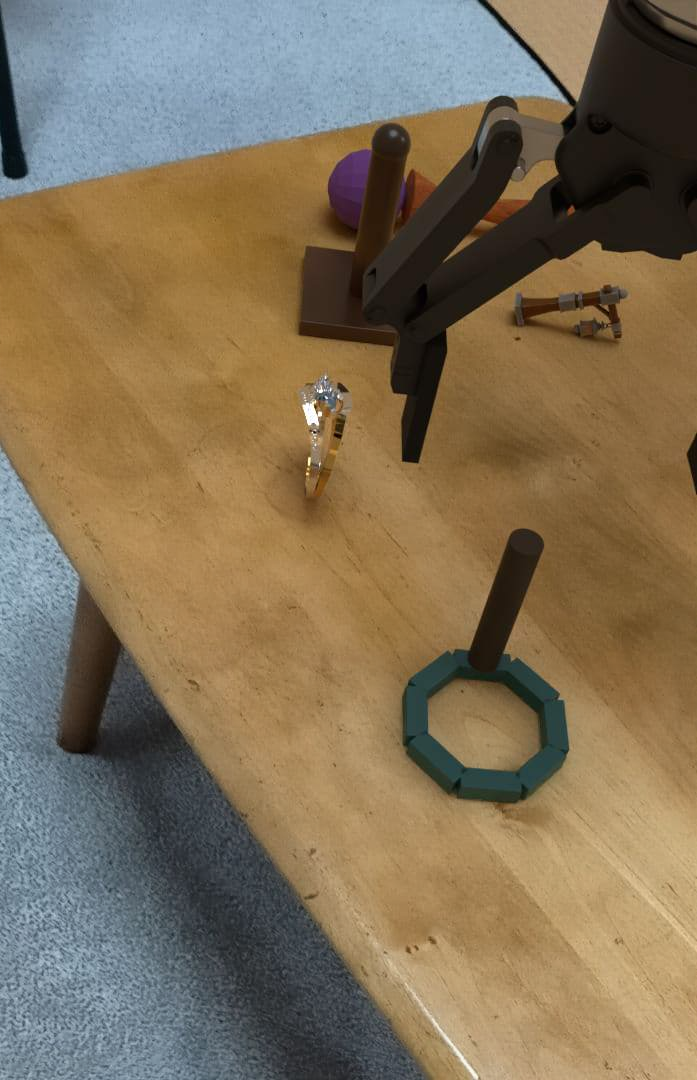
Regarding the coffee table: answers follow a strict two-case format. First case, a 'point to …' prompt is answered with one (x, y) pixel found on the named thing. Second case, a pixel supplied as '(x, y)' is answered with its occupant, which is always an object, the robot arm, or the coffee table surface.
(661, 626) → the coffee table surface
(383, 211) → the stand
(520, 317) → the wooden post with brackets
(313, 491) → the ring
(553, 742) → the ring
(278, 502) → the coffee table surface
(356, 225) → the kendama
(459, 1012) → the coffee table surface
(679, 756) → the coffee table surface
